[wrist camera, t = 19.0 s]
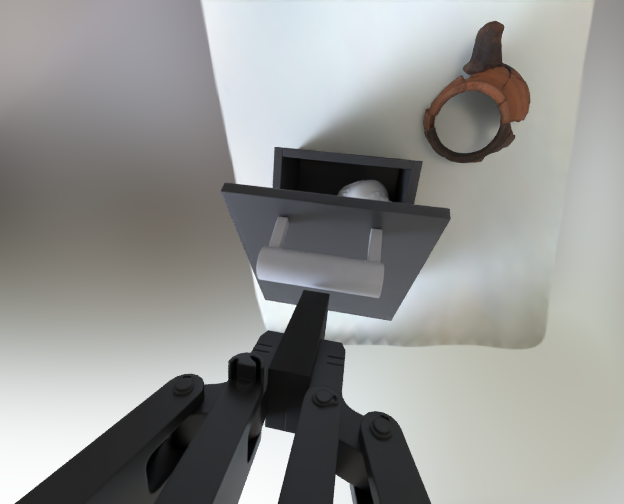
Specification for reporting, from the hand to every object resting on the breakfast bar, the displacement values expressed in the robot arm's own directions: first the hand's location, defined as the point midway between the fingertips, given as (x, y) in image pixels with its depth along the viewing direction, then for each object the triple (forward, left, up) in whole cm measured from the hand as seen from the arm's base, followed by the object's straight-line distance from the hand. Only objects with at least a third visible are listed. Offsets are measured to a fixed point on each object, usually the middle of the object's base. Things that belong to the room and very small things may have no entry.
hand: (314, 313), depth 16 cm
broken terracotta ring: (-19, +5, -23) cm, 30 cm away
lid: (0, 0, -8) cm, 8 cm away
